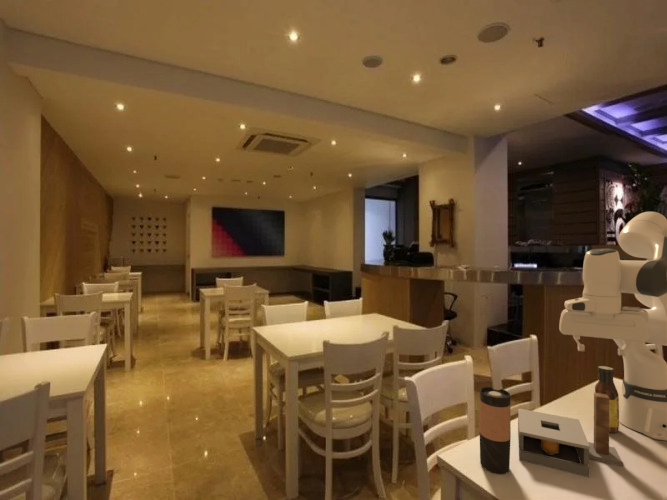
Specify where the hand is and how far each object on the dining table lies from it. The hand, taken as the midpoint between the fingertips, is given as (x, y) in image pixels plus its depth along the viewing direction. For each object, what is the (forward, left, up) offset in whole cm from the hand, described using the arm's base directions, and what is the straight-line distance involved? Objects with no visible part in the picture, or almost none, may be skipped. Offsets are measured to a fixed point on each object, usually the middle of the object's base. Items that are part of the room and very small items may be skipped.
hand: (601, 353), depth 100 cm
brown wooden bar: (0, 0, -28) cm, 28 cm away
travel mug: (+27, +20, -29) cm, 45 cm away
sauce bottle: (-5, -19, -29) cm, 35 cm away
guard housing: (+13, +6, -29) cm, 32 cm away
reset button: (+13, +6, -28) cm, 31 cm away
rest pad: (0, 0, -29) cm, 29 cm away
